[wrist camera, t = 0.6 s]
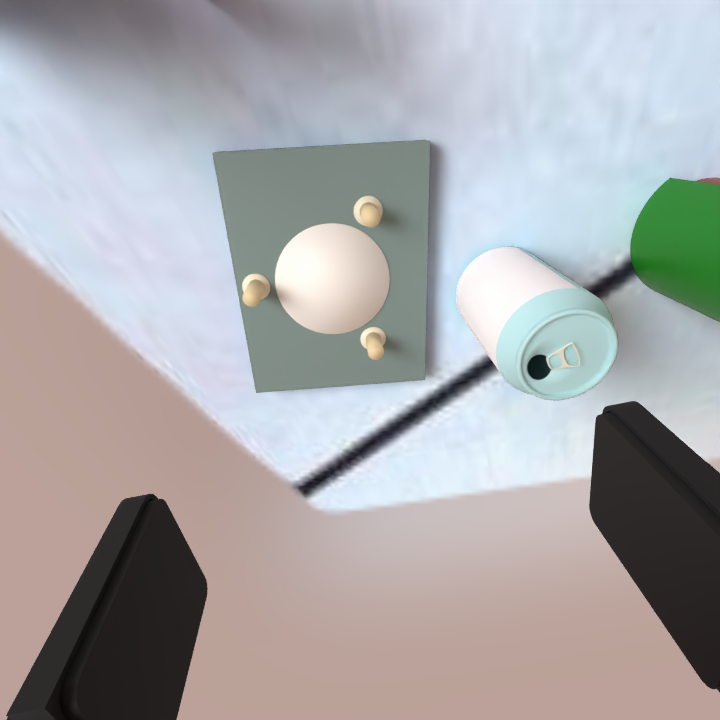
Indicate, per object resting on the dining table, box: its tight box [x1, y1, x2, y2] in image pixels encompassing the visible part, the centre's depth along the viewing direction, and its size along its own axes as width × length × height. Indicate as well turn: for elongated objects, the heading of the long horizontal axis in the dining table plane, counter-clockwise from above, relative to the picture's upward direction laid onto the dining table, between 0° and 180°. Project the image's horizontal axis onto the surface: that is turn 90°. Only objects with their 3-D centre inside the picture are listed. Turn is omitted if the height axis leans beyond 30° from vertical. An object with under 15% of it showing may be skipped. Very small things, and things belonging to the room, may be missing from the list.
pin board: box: [213, 140, 430, 393], centre depth 33 cm, size 14×18×4 cm
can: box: [456, 247, 618, 400], centre depth 31 cm, size 7×7×12 cm
